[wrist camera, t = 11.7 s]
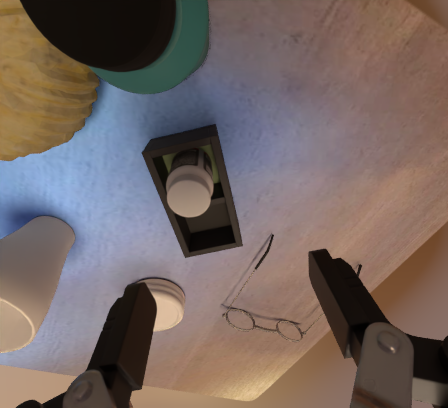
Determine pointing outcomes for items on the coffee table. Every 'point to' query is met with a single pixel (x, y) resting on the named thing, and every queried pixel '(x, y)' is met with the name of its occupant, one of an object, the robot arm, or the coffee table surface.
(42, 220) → the cup
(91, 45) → the beverage bottle
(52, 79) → the yellow lumpy rounded block
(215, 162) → the holder
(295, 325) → the eyeglasses
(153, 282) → the white jar lid
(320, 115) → the coffee table surface
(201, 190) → the pill bottle
